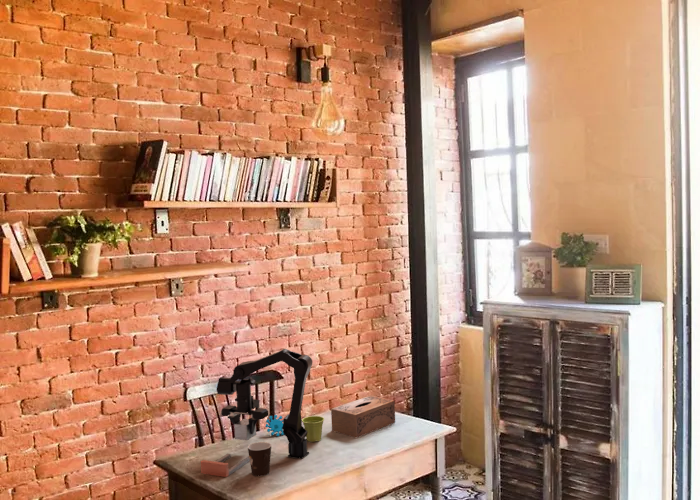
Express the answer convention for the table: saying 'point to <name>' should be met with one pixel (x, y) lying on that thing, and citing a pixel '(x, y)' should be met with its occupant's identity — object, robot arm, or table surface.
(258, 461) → the coffee mug
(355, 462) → the table surface
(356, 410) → the tissue box cover
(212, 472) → the channel
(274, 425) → the blue spiky piece
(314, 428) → the plant pot
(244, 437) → the metal box with button
